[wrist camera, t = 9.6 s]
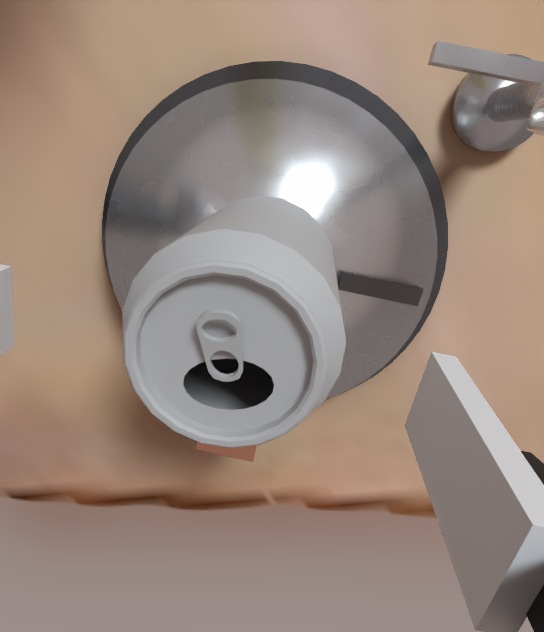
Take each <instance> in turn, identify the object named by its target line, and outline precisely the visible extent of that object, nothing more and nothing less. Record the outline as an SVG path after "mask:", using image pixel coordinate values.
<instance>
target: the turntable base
mask: <svg viewBox="0 0 544 632" xmlns="http://www.w3.org/2000/svg"><path fill="white" fill-rule="evenodd" d="M251 79H281V80H289V81H297V82H303V83H306V84H310V85H314V86H317V87H321V88H324V89H327V90H329V91H331V92H334V93H336V94H338V95H340V96H342V97H345V98H347V99H349V100H350V101H352V102H354V103H355V104H357V105H358V106H360V107H361V108H363V109H365V110H366V111H368V112H369V113H370V114H372V115H373V116H374V117H375V118H376V119H377V120H379V121H380V122H381V123H382V124H383V125H384V126H386V127H387V128H388V129H389V130H390V131H391V133H392V134H393V135H394V136H395V137H396V138H397V140H398V141H399V142H400V143H401V144H402V145H403V146H404V148H405V149H406V151H407V152H408V154H409V156H410V157H411V159H412V160H413V162H414V163H415V165H416V166H417V168H418V170H419V173H420V175H421V177H422V179H423V181H424V183H425V186H426V188H427V190H428V194H429V197H430V201H431V204H432V207H433V211H434V217H435V223H436V230H437V263H436V271H435V278H434V282H433V286H432V289H431V293H430V297H429V300H428V302H427V305H426V307H425V310H424V312H423V314H422V317H421V319H420V321H419V322H418V324H417V326H416V327H415V329H414V331H413V333H412V334H411V336H410V337H409V339H408V340H407V341H406V342H405V344H404V345H403V346H402V348H401V349H400V350H399V352H398V353H397V354H396V355H395V356H394V357H393V358H392V359H391V360H390V361H389V362H388V363H387V364H386V365H385V366H384V367H382V368H381V369H380V370H379V371H377V372H376V373H375V374H373V375H372V376H371V377H370V378H372V377H373V376H375V375H376V374H378V373H379V372H380V371H381V370H383V369H384V368H385V367H387V366H388V365H389V364H390V363H392V362H393V361H394V360H395V359H396V358H397V357H398V356H399V355H400V354H401V353H402V352H403V351H404V350H405V349H406V348H407V346H408V345H409V344H410V342H411V341H412V340H413V339H414V337H415V336H416V335H417V333H418V332H419V331H420V329H421V327H422V326H423V324H424V322H425V320H426V319H427V317H428V315H429V314H430V312H431V309H432V307H433V305H434V302H435V300H436V298H437V295H438V293H439V290H440V286H441V282H442V279H443V275H444V271H445V265H446V258H447V250H448V222H447V215H446V208H445V201H444V197H443V194H442V190H441V187H440V183H439V180H438V177H437V174H436V172H435V170H434V168H433V166H432V163H431V161H430V159H429V157H428V154H427V153H426V151H425V150H424V148H423V146H422V145H421V143H420V142H419V140H418V139H417V137H416V135H415V134H414V132H413V131H412V130H411V129H410V128H409V127H408V125H407V124H406V123H405V122H404V121H403V120H402V118H401V117H400V116H399V115H398V114H397V113H396V112H395V111H394V110H393V109H392V108H390V107H389V106H388V105H387V104H386V103H385V102H383V101H382V100H381V99H380V98H379V97H378V96H376V95H375V94H373V93H372V92H370V91H368V90H367V89H365V88H364V87H362V86H361V85H359V84H357V83H356V82H354V81H352V80H349V79H347V78H345V77H343V76H340V75H338V74H336V73H334V72H332V71H328V70H324V69H321V68H317V67H314V66H310V65H307V64H299V63H291V62H283V61H268V62H251V63H245V64H239V65H234V66H229V67H226V68H223V69H220V70H217V71H214V72H211V73H208V74H205V75H203V76H201V77H199V78H197V79H195V80H193V81H191V82H189V83H187V84H185V85H183V86H182V87H180V88H179V89H178V90H176V91H175V92H173V93H172V94H171V95H169V96H168V97H166V98H165V99H164V100H162V101H161V102H160V103H159V104H158V105H157V106H156V107H155V108H154V109H153V110H152V111H151V112H150V113H149V114H148V115H147V116H146V117H145V118H144V119H143V120H142V122H141V123H140V124H139V125H138V127H137V128H136V129H135V131H134V132H133V133H132V134H131V136H130V137H129V139H128V141H127V143H126V144H125V146H124V148H123V150H122V151H121V153H120V155H119V157H118V159H117V162H116V164H115V167H114V169H113V172H112V174H111V177H110V180H109V184H108V188H107V192H106V196H105V202H104V210H103V219H102V237H103V250H104V257H105V264H106V268H107V272H108V275H109V271H108V264H107V257H106V238H105V230H106V221H107V213H108V207H109V203H110V199H111V195H112V191H113V188H114V186H115V183H116V181H117V178H118V176H119V173H120V171H121V168H122V167H123V165H124V163H125V161H126V160H127V158H128V156H129V155H130V153H131V151H132V149H133V148H134V147H135V146H136V144H137V143H138V142H139V140H140V139H141V138H142V137H143V135H144V134H145V133H146V132H147V131H148V130H149V129H150V128H151V127H152V126H153V125H154V124H155V123H156V122H157V121H158V120H159V119H160V118H161V117H162V116H163V115H165V114H166V113H168V112H169V111H170V110H172V109H173V108H175V107H176V106H178V105H179V104H180V103H182V102H183V101H185V100H187V99H189V98H191V97H193V96H195V95H197V94H199V93H201V92H203V91H206V90H209V89H212V88H215V87H218V86H221V85H224V84H227V83H233V82H239V81H245V80H251ZM109 279H110V275H109ZM110 282H111V279H110ZM111 286H112V283H111ZM112 288H113V286H112ZM113 291H114V290H113ZM115 296H116V295H115ZM117 301H118V300H117ZM370 378H368V379H370ZM368 379H367V380H368ZM367 380H365V381H367ZM365 381H363V382H365ZM363 382H362V383H363ZM362 383H360V384H362ZM360 384H358V385H360ZM358 385H357V386H358ZM355 387H356V386H355ZM353 388H354V387H353ZM349 390H350V389H349ZM340 394H341V393H340Z"/></svg>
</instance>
